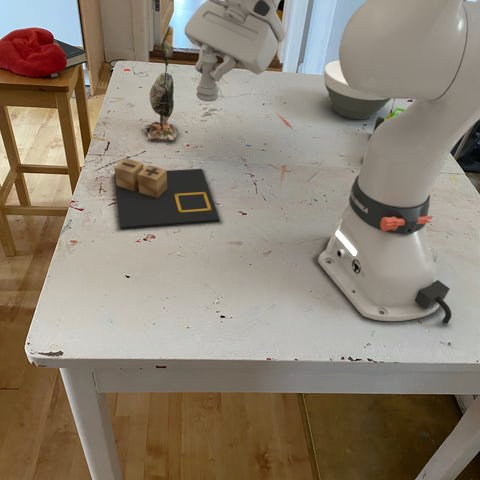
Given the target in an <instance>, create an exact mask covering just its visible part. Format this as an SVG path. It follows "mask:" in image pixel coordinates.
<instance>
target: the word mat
mask: <svg viewBox="0 0 480 480" xmlns="http://www.w3.org/2000/svg"><path fill="white" fill-rule="evenodd" d="M113 177H114V186H115V194H116V202H117V203H116V204H117V212H118V219H119V228H120V229H119V230H130V229H131V230H133V229H144V228H156V227H157V228H158V227H169V226H181V225H183V226H184V225H194V224H207V223H216V222H217V223H218V222H220V217H219V214H218V211H217V208H216V206H215V202H214V199H213V197H212V194H211V192H210V188H209V185H208V183H207V180H206V177H205V174H204V171H203V169H202V168H193V169H174V170H173V169H171V170H167V189H166V190H165V191H164V192H163V193H162V194H161V195H160V196H159V197H158V198H155V197H152V196H149V195H145V194H142V193H139V187H138V188H137V189H136V190H135V191H132V190H129V189H126V188H122V187H119V186H117V185H116V177H115V173H114V174H113Z"/></svg>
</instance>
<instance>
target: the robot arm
mask: <svg viewBox="0 0 480 480" xmlns="http://www.w3.org/2000/svg"><path fill="white" fill-rule="evenodd" d="M280 2H281V0H205V2H204V3H202V4H201V5H200V6H199V7H198V8H197V9H196V11H195V12H194V13H193V15H192V16H191V17H190V18H189V20H188V21H187V22H186V24H185V25H184V35H185V36H186V38H187V39H188V40H189V42H190V43H191V44H192V45H195V47H196V46H197V47H198V48H199V53H198V54H199V55H198V60H197V62H196V63H195V65H194V69H195V70H196V71H197V73H199V74H201V75H202V66H203V62H202V61H201V57H202V56H203V52H205V54H206V51H208V54H210V52H213V55H214V53H216V57H217V56H218V57H219V58H221V59H222V60H223V61H222V63H219V65H218V66H215V67H213V68H212V71H210V73H209V76H210V77H211V78H212V79H213V80H215V82H216V83H217V82H220V80H221V79H222V77H223V76H224V75H226V74H228V73H229V72H231V71H233V70H234V68H235V67H236V66H238V67H240V68H243V69H244V70H247V71H249V72H251V73H253V74H255V75H261V74H263V73H264V72H265V71H266V70H267V69H268V67H269V66H270V64H271V63H272V61H273V60H274V58H275V56H276V55H277V53H278V50H279V46H280V43H282V42H283V41H284V40H285V38H286V36H287V32H286V29H285V27H284V24H283V23H282V20H281V18H280V17H279V15H278V13H277V10H278V7H279V4H280ZM338 60H339V62H340V67H341V71H342V74H343V77H344V79H345V81H346V82H347V84H348V85H349V87H350V88H351V89H353V90H356V91H360V92H363V93H366V94H370V95H374V96H378V97H381V98H391V100H392V99H393V100H394V99H395V100H414V101H413V102H412V103H411V104H410V105H409V106H407V107H406V108H404V109H405V110H404V111H403V112H402V111H400V113H397V115H396V116H393V117H391V118H389V119H387V120H386V121H385V120H384V122H383V123H381V124H380V125H379V126H378V127H377V128H376V129H375V131H374V130H373V131H374V132H373V131H372V134H371V135H370V137H369V140H368V143H367V145H366V150H365V154H364V155H363V160H362V163H361V167H360V170H359V174H358V175H356V177H355V179H354V182H353V183H352V184H351V189H350V194H349V197H348V202H349V203H348V205H347V207H346V209H345V210H344V211H343V212H342V214H341V215H340V216H339V217H338V219H337V221H336V224H335V226H334V228H333V230H332V233H331V236H330V239H329V241H328V244H327V246H326V249H324V250H323V251H321V253H319V255H318V258H317V263H318V264H319V266H320V267H321V268H322V269H323V270H324V271H325V273H326V274H327V275H328V276H329V278H330V279H331V280H332V281H333V282H334V284H335V285H336V286H337V287H338V289H340V291H341V292H342V293H343V294H344V295H345V296H346V298H347V299H348V300H349V302H350V303H351V304H352V305H353V306H354V308H355V309H356V310H357V311H358V312H359V314H360V315H362V316H363V317H365V318H367V319H371V320H373V321H374V320H375V321H380V322H403V321H410V320H416V319H420V318H425V317H427V316H429V315H431V314H433V313H435V312H436V311H437V310H438V309H439V308H440V307H441V309H442V310H443V311H444V317H443V319H442V321H441V322H442V323H443V324H444V325H447V324H449V322H450V321H451V319H452V311H451V308H450V307H449V305H448V304H447V302H446V301H445V299H446V296H447V295H448V293H449V291H450V290H451V288H450V287H448V286H447V285H446V284H445V283H443V282H442V281H440V280H439V279H437V280H435V277H436V270H437V269H436V265H435V263H436V262H437V260H438V251H437V249H435V248H431V245H430V240H429V237H428V230H427V229H426V224H430V223H432V221H431V220H432V219H433V218H434V216H433V215H428V214H429V209H430V204H431V203H430V202H431V194H430V193H431V191H432V189H433V186H434V185H435V182H436V180H437V178H438V176H439V173H440V172H441V170H442V168H443V166H444V164H445V162H446V160H447V158H448V157H449V155H450V153H451V151H452V150H453V148H454V147H455V146H456V145H457V144H458V142H459V141H460V139H462V137H463V136H464V135H465V134H466V133H467V132H468V131H469V130H470V129H471V128H472V127H473V126H474V125H475V124H476V123H477V122H478V121H479V120H480V1H473V0H366V1H365V2H363V3H362V4H361V5H360V6H359V7H358V8H357V9H356V10H355V11H354V12H353V13H352V15H351V16H350V18H349V19H348V20H347V23H346V25H345V27H344V29H343V32H342V35H341V38H340V42H339V48H338Z"/></svg>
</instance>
